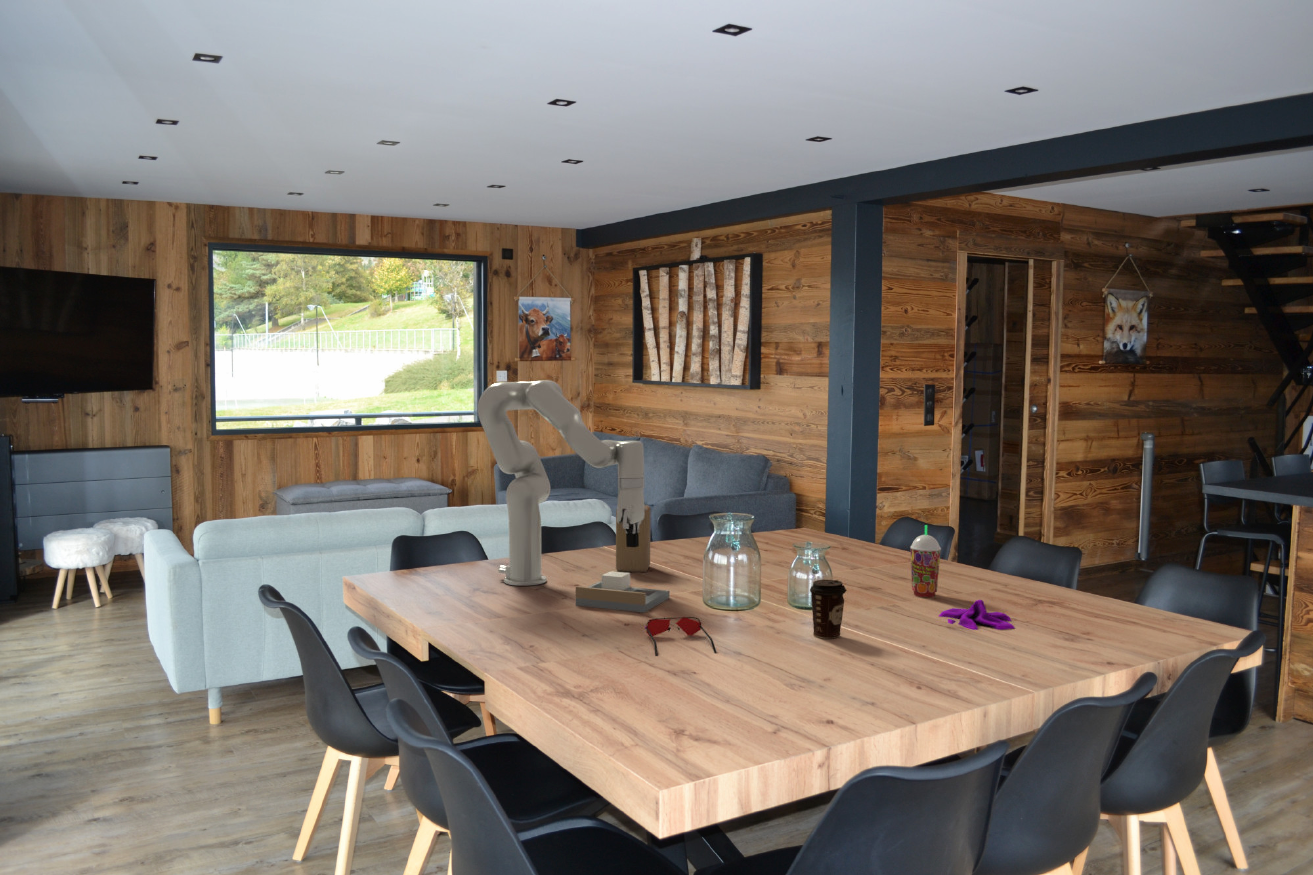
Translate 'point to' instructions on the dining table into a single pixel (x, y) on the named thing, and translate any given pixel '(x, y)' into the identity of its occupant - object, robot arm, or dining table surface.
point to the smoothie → (925, 565)
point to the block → (634, 556)
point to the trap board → (620, 598)
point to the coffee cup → (827, 608)
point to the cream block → (616, 580)
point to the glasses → (684, 623)
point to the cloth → (978, 617)
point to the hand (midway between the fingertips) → (632, 546)
